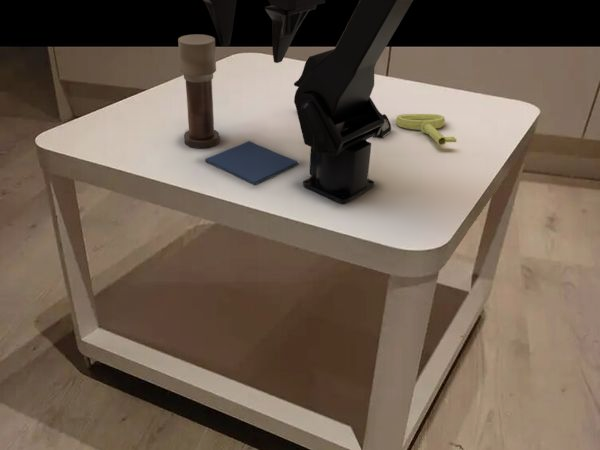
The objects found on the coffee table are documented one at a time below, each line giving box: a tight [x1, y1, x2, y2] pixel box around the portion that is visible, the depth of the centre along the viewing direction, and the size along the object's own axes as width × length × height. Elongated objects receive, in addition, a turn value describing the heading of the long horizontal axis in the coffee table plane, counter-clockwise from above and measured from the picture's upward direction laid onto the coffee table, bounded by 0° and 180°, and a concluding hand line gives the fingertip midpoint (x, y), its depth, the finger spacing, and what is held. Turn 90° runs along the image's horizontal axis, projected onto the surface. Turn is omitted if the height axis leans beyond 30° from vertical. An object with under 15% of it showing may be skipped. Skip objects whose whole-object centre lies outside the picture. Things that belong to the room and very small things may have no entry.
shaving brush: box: [177, 33, 220, 149], centre depth 82 cm, size 5×5×14 cm
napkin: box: [204, 140, 299, 186], centre depth 80 cm, size 9×8×1 cm
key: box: [395, 113, 457, 146], centre depth 90 cm, size 7×12×2 cm, turn 26°
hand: (250, 53), depth 77 cm, fingers open, 9 cm apart
